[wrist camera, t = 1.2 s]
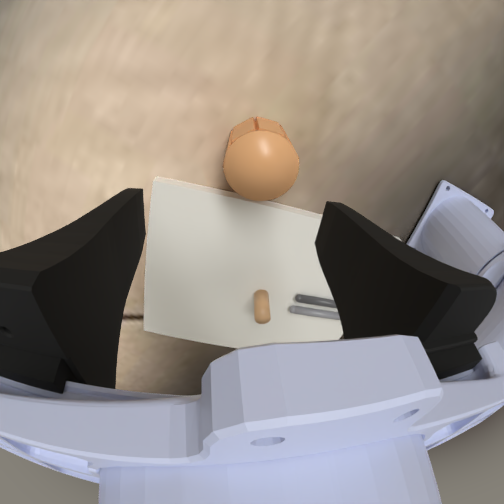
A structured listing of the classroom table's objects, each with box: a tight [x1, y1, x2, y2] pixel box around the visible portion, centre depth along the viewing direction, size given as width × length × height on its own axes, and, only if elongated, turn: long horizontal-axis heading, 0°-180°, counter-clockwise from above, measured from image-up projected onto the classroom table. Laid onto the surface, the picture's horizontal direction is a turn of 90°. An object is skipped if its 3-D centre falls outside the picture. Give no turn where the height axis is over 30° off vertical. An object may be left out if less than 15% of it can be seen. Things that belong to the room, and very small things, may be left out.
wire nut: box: [223, 117, 300, 201], centre depth 18 cm, size 4×4×4 cm
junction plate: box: [144, 176, 401, 348], centre depth 27 cm, size 22×18×4 cm
